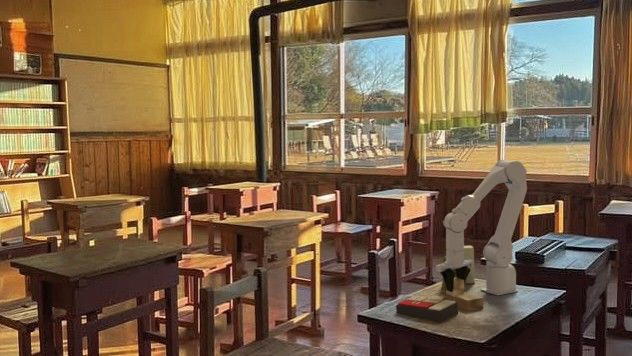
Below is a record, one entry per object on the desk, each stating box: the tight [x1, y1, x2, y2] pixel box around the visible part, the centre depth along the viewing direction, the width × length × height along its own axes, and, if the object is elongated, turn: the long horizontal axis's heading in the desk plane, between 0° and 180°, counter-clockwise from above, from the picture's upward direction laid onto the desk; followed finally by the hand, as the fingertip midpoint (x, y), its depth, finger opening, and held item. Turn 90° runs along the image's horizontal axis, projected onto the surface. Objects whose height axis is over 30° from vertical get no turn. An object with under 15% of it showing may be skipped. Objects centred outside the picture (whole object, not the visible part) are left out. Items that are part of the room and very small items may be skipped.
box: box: [464, 245, 476, 284], centre depth 215 cm, size 5×4×13 cm
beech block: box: [445, 278, 465, 298], centre depth 200 cm, size 4×4×5 cm
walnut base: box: [454, 292, 484, 312], centre depth 186 cm, size 6×6×4 cm
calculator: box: [395, 295, 459, 324], centre depth 180 cm, size 11×4×15 cm
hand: (455, 290), depth 200 cm, fingers closed on beech block, 4 cm apart
